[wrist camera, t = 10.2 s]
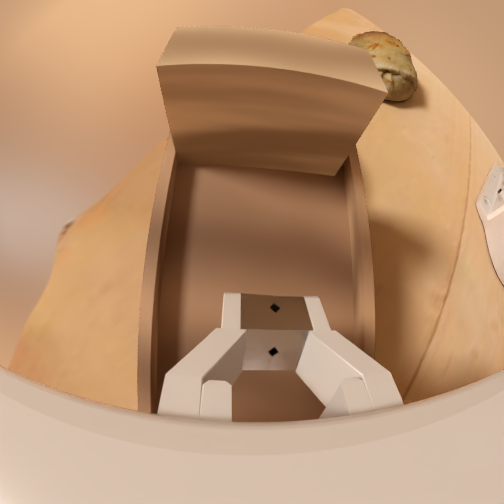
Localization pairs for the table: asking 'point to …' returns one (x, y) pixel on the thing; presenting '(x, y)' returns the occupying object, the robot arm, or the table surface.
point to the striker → (266, 98)
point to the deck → (252, 269)
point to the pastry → (390, 63)
